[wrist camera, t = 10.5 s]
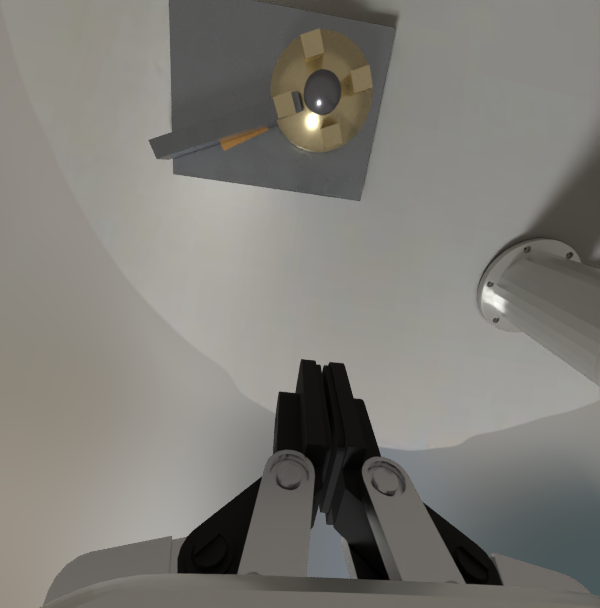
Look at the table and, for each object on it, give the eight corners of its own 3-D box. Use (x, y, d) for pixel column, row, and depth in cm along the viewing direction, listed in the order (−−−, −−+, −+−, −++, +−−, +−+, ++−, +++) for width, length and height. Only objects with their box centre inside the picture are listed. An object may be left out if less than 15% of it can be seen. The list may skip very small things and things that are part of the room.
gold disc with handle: (373, 137, 31) (383, 133, 28) (184, 196, 33) (172, 200, 29) (355, 27, 27) (364, 7, 24) (144, 100, 29) (124, 91, 26)
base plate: (391, 34, 29) (396, 27, 28) (357, 199, 35) (360, 201, 34) (174, -7, 27) (168, -17, 26) (178, 173, 33) (173, 174, 32)
